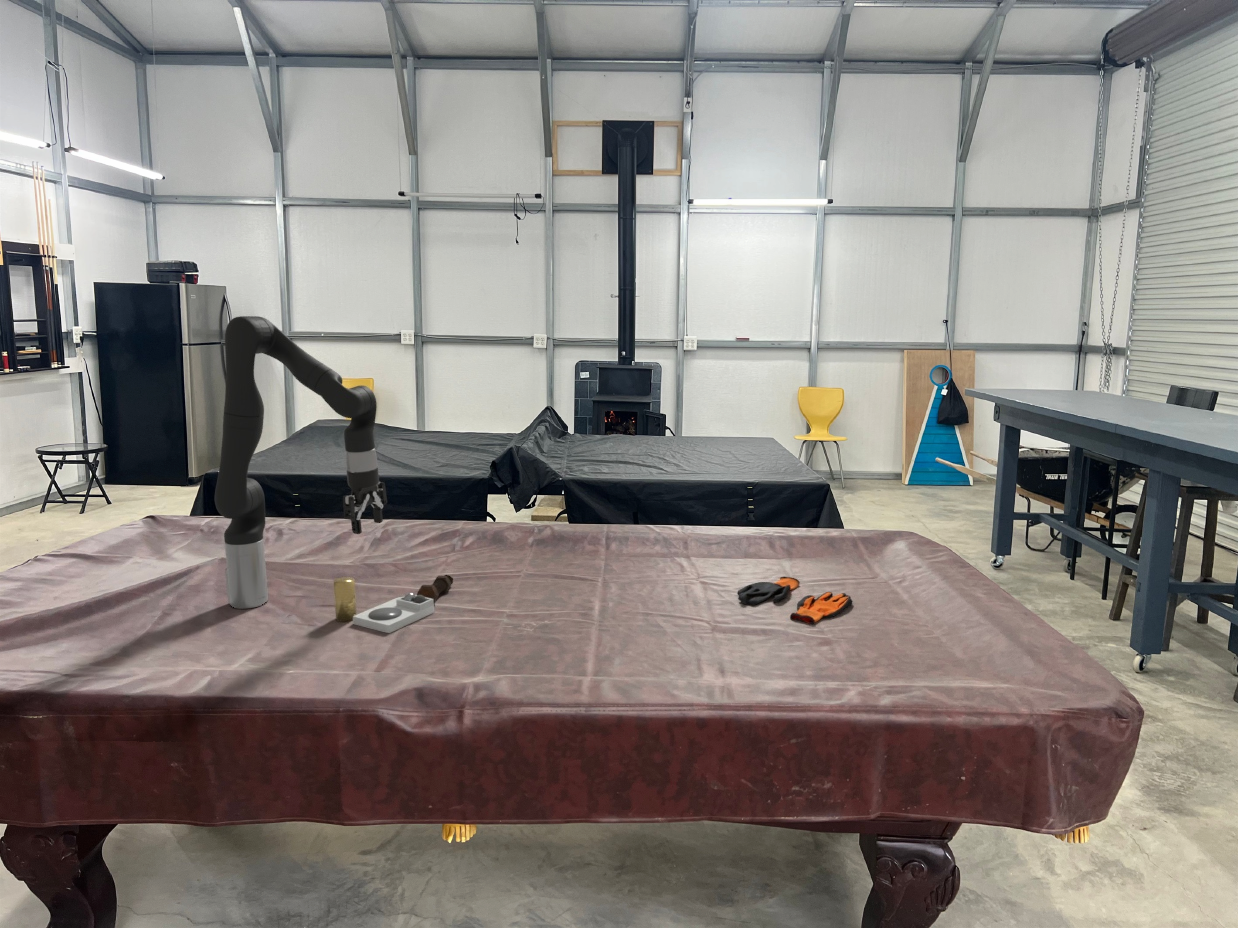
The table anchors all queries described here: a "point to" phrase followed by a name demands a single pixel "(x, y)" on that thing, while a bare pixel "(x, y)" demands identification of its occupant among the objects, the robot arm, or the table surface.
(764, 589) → the pair of gloves
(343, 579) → the ball
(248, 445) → the robot arm
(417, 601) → the rubber ball
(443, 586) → the bolt
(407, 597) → the steel ball
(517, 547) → the table surface
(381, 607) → the plate
